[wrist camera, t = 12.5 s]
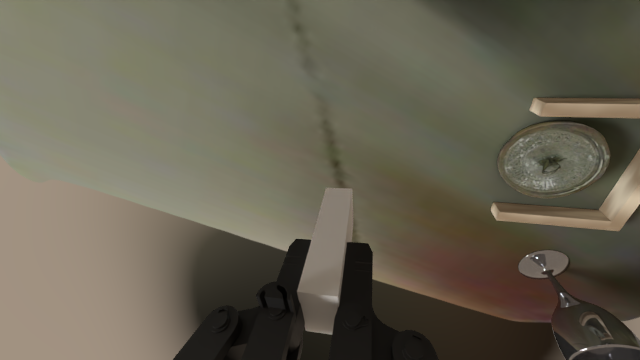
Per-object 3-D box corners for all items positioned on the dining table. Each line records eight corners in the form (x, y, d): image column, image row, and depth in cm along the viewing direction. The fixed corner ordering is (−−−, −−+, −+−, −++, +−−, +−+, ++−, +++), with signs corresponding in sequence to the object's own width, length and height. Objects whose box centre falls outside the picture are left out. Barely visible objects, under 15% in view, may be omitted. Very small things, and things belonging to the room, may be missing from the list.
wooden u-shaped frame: (534, 97, 30) (545, 103, 28) (689, 99, 28) (715, 105, 26) (490, 209, 39) (496, 220, 37) (605, 219, 36) (618, 231, 34)
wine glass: (504, 267, 44) (553, 362, 32) (546, 240, 40) (622, 338, 28) (540, 286, 45) (602, 387, 33) (585, 263, 41) (676, 368, 28)
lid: (564, 190, 36) (588, 212, 31) (486, 185, 37) (500, 205, 33) (604, 116, 30) (641, 131, 26) (511, 114, 32) (531, 128, 28)
